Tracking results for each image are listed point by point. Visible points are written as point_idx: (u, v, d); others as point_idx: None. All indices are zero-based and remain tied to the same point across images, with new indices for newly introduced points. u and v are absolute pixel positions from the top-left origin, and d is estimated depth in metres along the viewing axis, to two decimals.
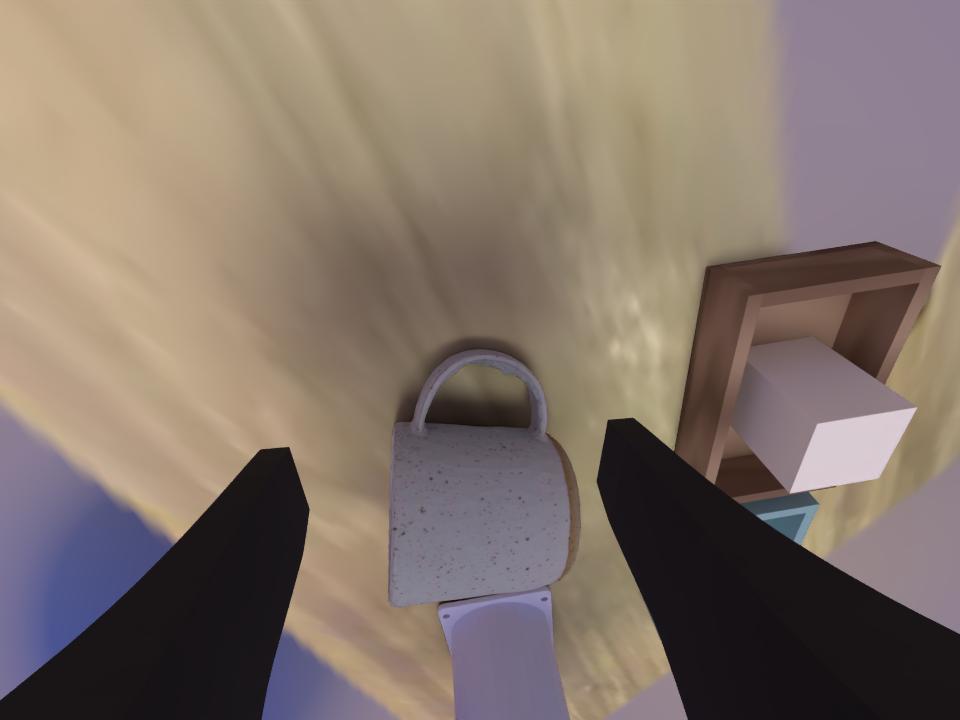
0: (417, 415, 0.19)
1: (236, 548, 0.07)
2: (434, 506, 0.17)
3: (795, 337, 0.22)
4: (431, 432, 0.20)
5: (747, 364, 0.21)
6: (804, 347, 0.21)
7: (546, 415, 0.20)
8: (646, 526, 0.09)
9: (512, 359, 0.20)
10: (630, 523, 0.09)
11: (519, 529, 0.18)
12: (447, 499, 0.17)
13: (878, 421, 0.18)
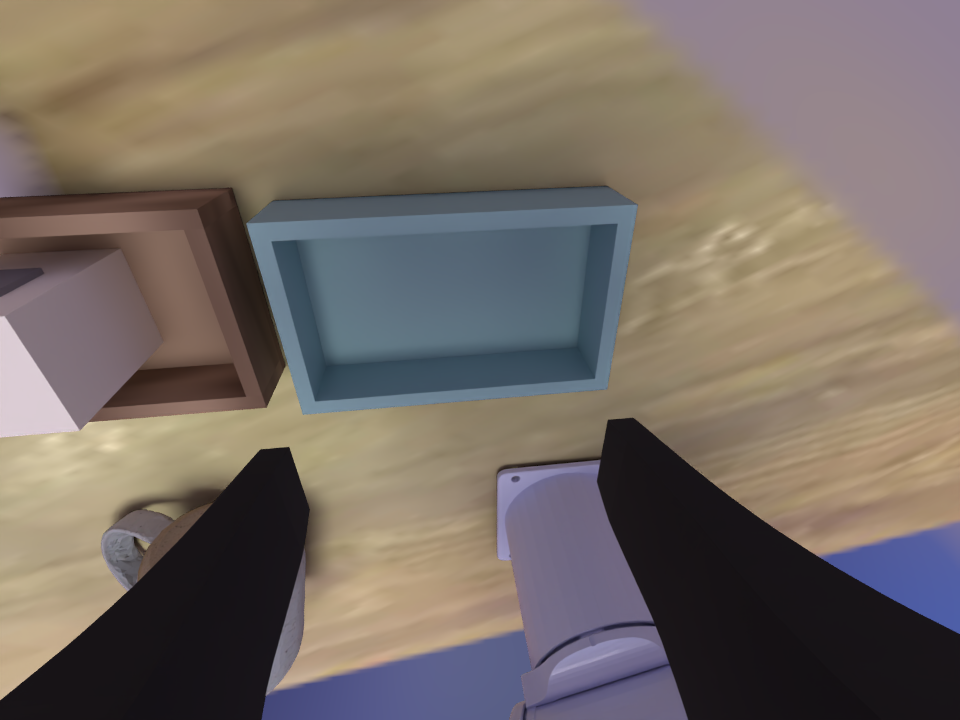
0: None
1: (236, 548, 0.07)
2: None
3: None
4: None
5: None
6: None
7: (136, 534, 0.22)
8: (646, 526, 0.09)
9: None
10: (630, 523, 0.09)
11: None
12: None
13: None
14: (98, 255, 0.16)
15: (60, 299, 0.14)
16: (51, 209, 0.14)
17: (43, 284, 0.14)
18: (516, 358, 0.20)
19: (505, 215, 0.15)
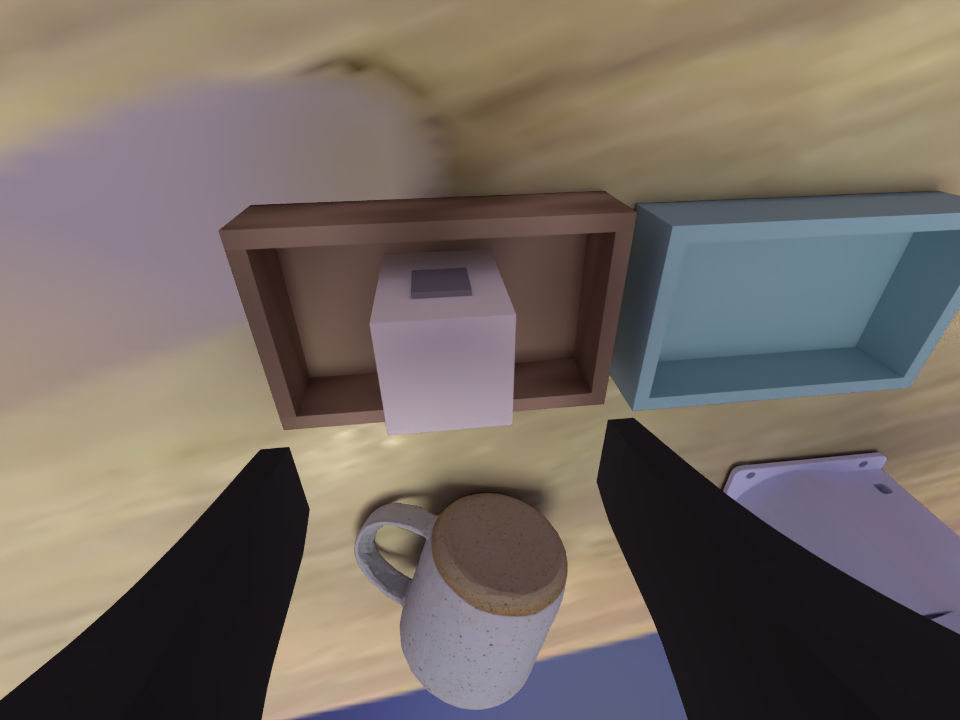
0: None
1: (236, 548, 0.07)
2: (420, 662, 0.22)
3: None
4: (407, 595, 0.25)
5: None
6: None
7: (408, 526, 0.22)
8: (646, 526, 0.09)
9: (361, 530, 0.24)
10: (630, 523, 0.09)
11: (451, 634, 0.20)
12: (419, 652, 0.22)
13: (391, 365, 0.13)
14: (482, 255, 0.16)
15: None
16: (488, 211, 0.15)
17: (488, 284, 0.14)
18: (806, 357, 0.21)
19: (900, 219, 0.15)
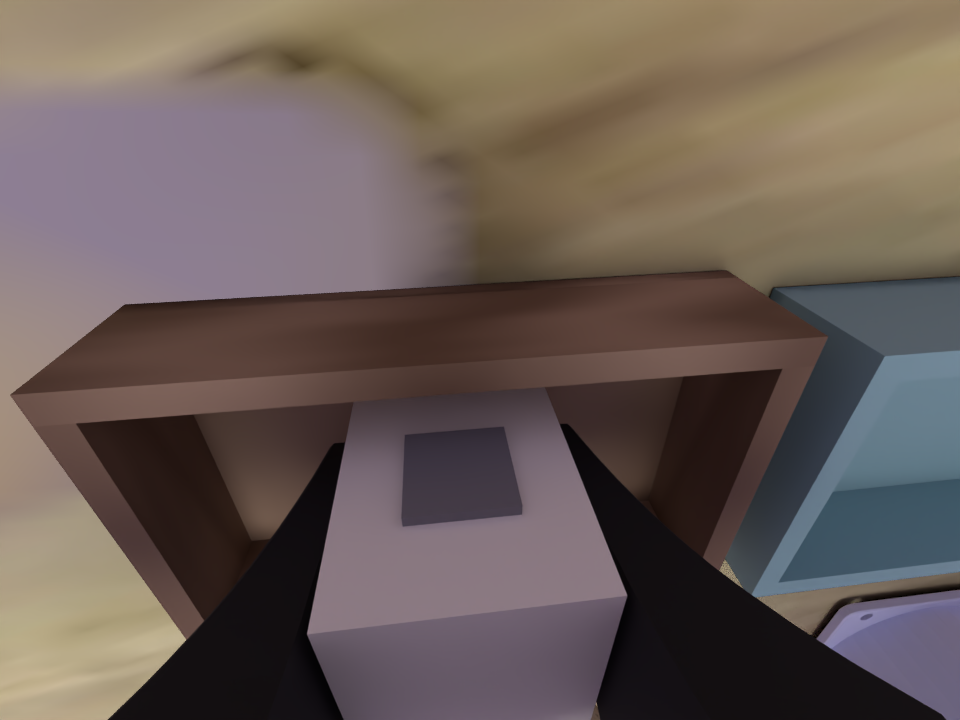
0: None
1: None
2: None
3: None
4: None
5: None
6: None
7: None
8: None
9: None
10: None
11: None
12: None
13: (361, 682, 0.06)
14: None
15: None
16: (546, 331, 0.08)
17: (549, 472, 0.08)
18: None
19: None
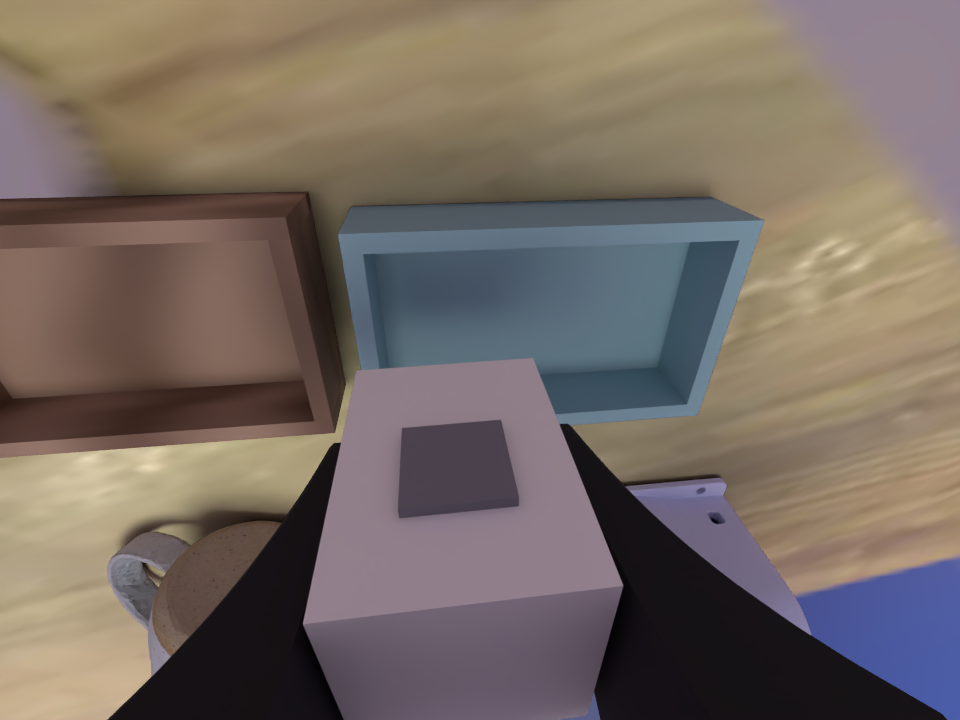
0: None
1: None
2: None
3: (60, 287, 0.15)
4: None
5: None
6: None
7: (149, 560, 0.20)
8: None
9: None
10: None
11: None
12: None
13: (357, 673, 0.06)
14: (522, 376, 0.10)
15: None
16: (116, 214, 0.12)
17: (546, 464, 0.08)
18: (595, 379, 0.19)
19: (621, 229, 0.13)
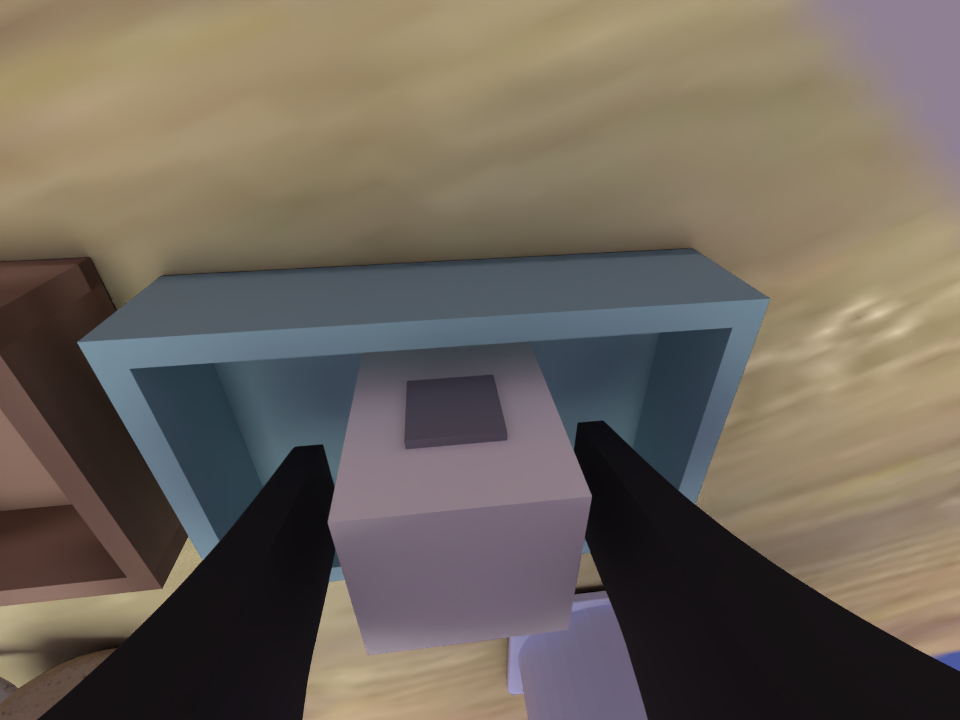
0: None
1: (281, 543, 0.07)
2: None
3: None
4: None
5: None
6: None
7: None
8: (611, 530, 0.09)
9: None
10: (598, 526, 0.09)
11: None
12: None
13: (371, 574, 0.07)
14: None
15: None
16: None
17: (531, 409, 0.09)
18: None
19: (544, 319, 0.09)
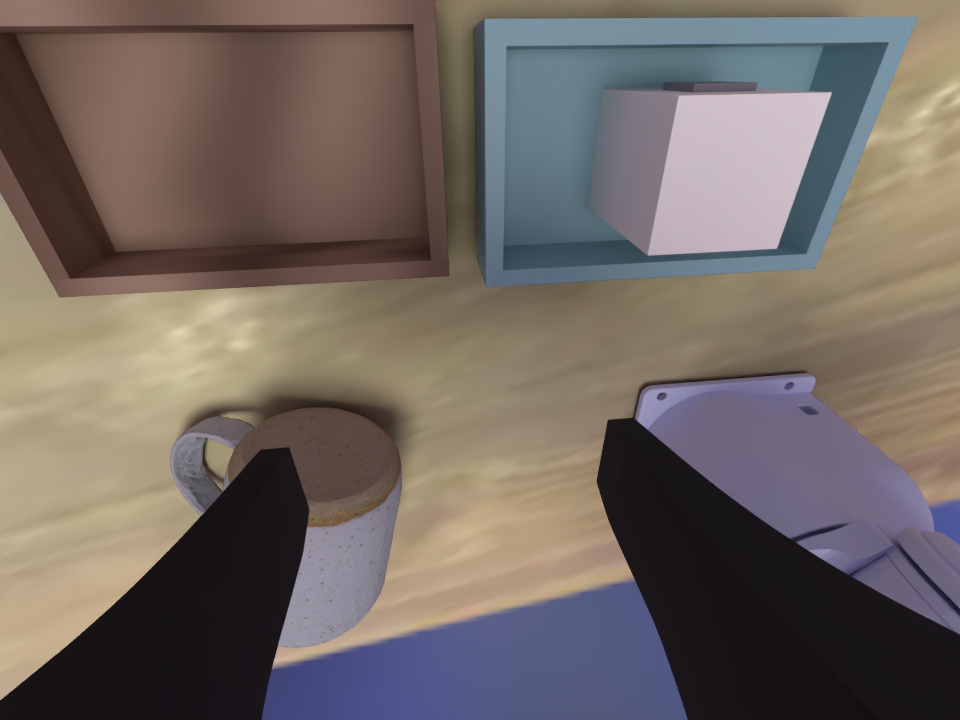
0: None
1: (236, 548, 0.07)
2: None
3: (175, 116, 0.15)
4: None
5: (601, 215, 0.17)
6: (605, 122, 0.15)
7: (217, 437, 0.19)
8: (646, 526, 0.09)
9: (173, 446, 0.21)
10: (630, 523, 0.09)
11: None
12: None
13: (682, 157, 0.12)
14: None
15: None
16: None
17: (758, 90, 0.13)
18: None
19: (770, 24, 0.13)
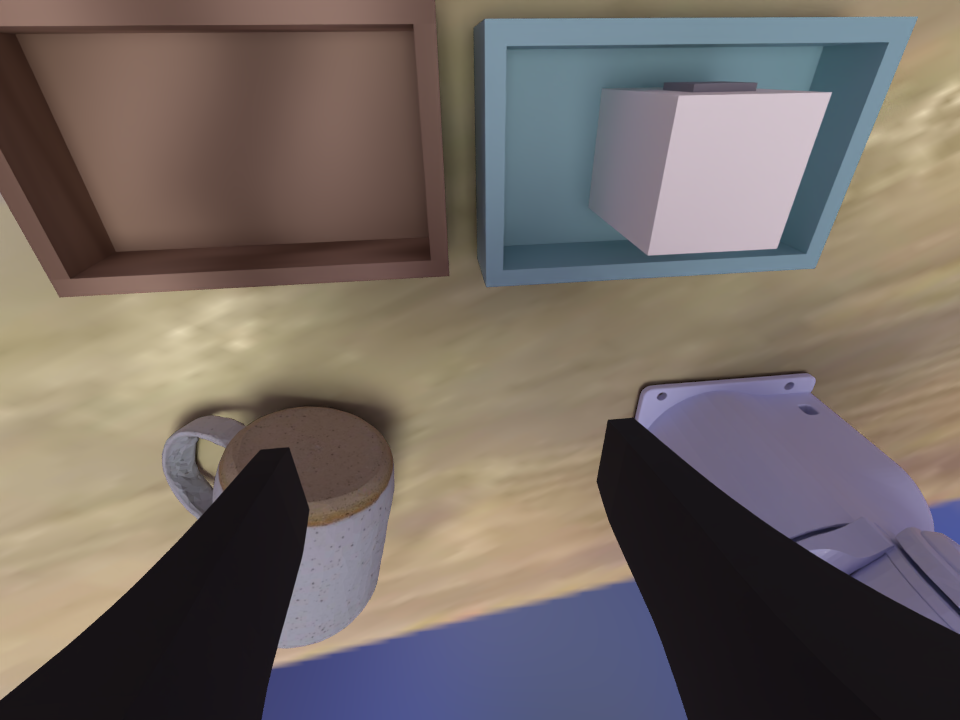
0: None
1: (236, 548, 0.07)
2: None
3: (175, 115, 0.15)
4: None
5: (601, 215, 0.17)
6: (605, 122, 0.15)
7: (208, 436, 0.19)
8: (646, 526, 0.09)
9: (165, 445, 0.21)
10: (630, 523, 0.09)
11: None
12: None
13: (682, 157, 0.12)
14: None
15: None
16: None
17: (758, 89, 0.13)
18: None
19: (770, 24, 0.13)
